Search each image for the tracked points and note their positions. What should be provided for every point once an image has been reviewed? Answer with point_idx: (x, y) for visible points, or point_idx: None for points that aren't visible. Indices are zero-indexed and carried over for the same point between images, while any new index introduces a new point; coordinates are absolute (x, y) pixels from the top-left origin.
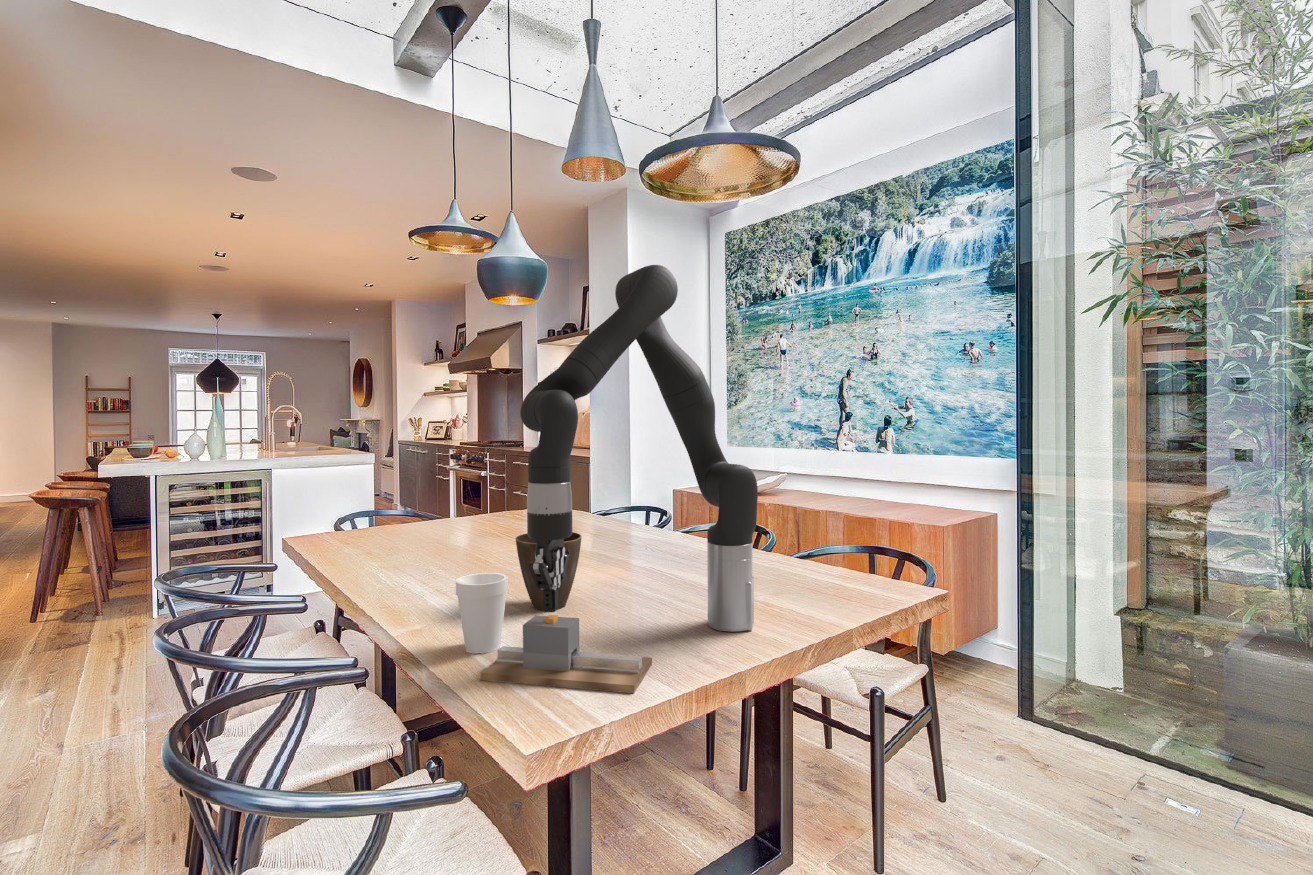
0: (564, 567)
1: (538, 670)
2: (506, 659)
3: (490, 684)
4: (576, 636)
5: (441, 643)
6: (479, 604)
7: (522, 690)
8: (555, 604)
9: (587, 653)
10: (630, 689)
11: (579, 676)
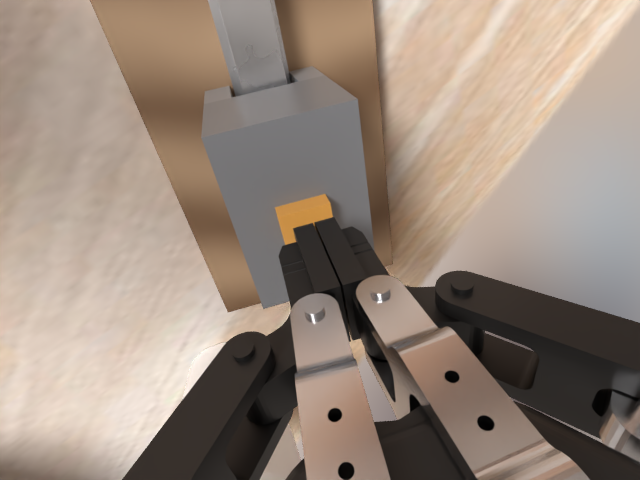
0: (204, 434)
1: None
2: None
3: (401, 222)
4: (240, 106)
5: None
6: (292, 459)
7: (413, 136)
8: (340, 232)
9: (238, 34)
10: None
11: (336, 1)
